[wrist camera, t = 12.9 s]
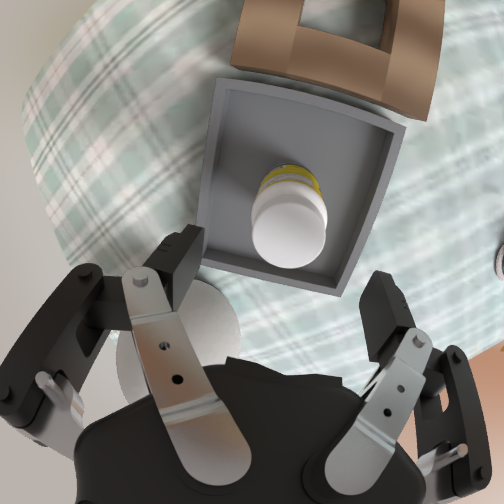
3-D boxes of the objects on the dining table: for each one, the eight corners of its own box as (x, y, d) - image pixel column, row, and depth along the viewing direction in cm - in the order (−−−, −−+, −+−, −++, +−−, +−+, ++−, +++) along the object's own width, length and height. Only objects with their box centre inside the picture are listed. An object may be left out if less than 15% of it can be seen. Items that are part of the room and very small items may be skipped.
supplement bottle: (311, 222, 23) (318, 282, 16) (256, 210, 23) (238, 266, 16) (325, 168, 20) (343, 207, 13) (266, 155, 20) (251, 187, 13)
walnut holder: (271, -56, 10) (267, -75, 7) (428, -9, 10) (445, -20, 7) (239, 70, 18) (230, 64, 15) (407, 117, 17) (426, 121, 14)
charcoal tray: (225, 79, 18) (216, 77, 16) (394, 124, 18) (406, 127, 16) (200, 249, 27) (192, 262, 24) (337, 281, 26) (340, 297, 24)
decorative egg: (137, 306, 33) (83, 399, 20) (170, 241, 27) (90, 356, 14) (216, 352, 35) (187, 451, 22) (269, 302, 29) (249, 434, 16)
